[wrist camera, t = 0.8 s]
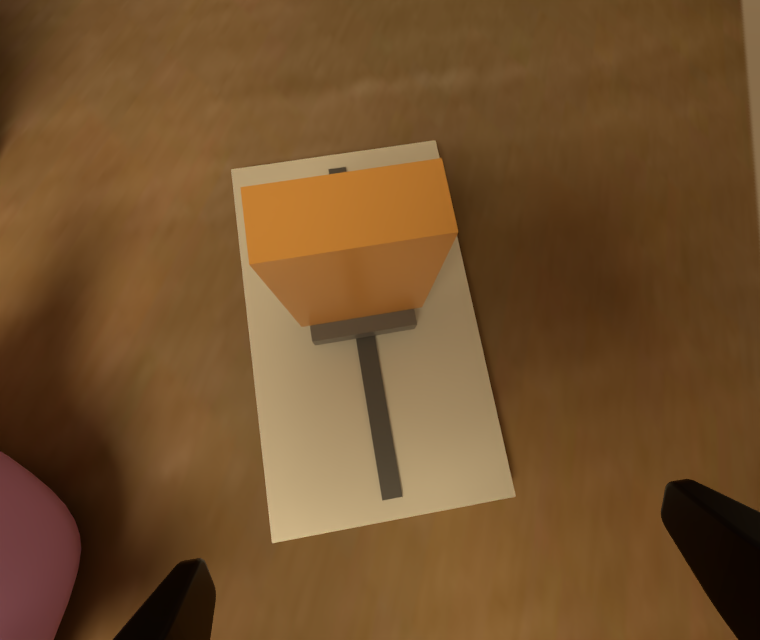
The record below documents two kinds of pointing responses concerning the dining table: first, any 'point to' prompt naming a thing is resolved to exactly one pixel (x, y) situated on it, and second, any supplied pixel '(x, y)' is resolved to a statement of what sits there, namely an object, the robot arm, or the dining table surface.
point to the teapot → (34, 555)
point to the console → (370, 395)
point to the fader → (352, 246)
